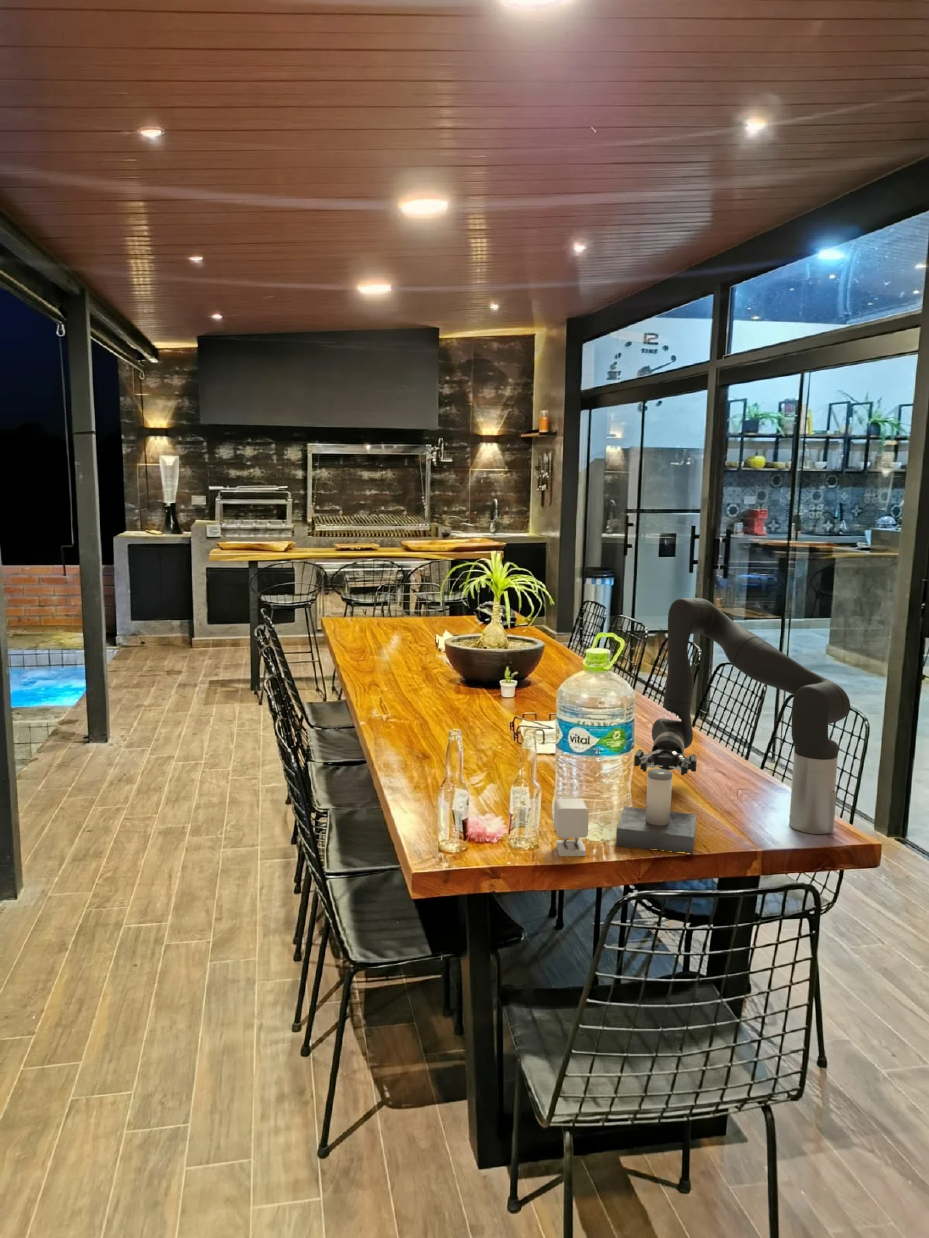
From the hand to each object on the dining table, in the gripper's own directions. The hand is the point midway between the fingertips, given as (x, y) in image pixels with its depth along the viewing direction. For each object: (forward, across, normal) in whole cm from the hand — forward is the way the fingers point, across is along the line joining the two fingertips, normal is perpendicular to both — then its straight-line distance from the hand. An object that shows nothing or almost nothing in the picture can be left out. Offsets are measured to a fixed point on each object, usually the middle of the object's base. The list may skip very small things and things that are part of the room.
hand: (663, 769), depth 211 cm
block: (+11, 0, +12) cm, 17 cm away
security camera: (+23, -17, +12) cm, 31 cm away
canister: (+11, 0, +8) cm, 14 cm away
